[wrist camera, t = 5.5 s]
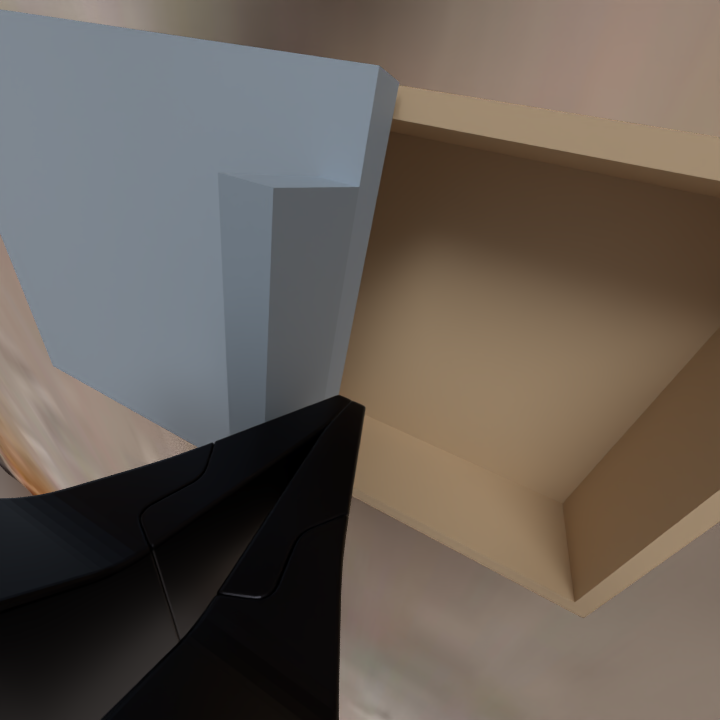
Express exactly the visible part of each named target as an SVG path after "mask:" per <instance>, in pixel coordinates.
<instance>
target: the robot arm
mask: <svg viewBox="0 0 720 720" xmlns="http://www.w3.org/2000/svg"><path fill="white" fill-rule="evenodd" d="M365 410H366V407H365V406H364V405H362V404H360V403H357V402H355V401H351V400H350V399H348V398H346V397H344V396H341V395H335V396H333V397H330V398H328V399H325V400H322V401H320V402H317V403H314V404H312V405H309V406H306V407H304V408H301V409H299V410H296V411H293V412H291V413H288V414H285V415H283V416H280V417H278V418H275V419H272V420H270V421H267V422H264V423H262V424H259V425H256V426H254V427H251V428H249V429H246V430H243V431H241V432H238V433H235V434H233V435H230V436H227V437H225V438H222V439H220V440H217V441H215V443H212V442H211V443H209V444H206V445H203V446H201V447H198V448H196V449H193V450H190V451H187V452H184V453H181V454H179V455H176V456H173V457H170V458H167V459H164V460H161V461H157V462H154V463H151V464H148V465H145V466H141V467H138V468H135V469H131V470H128V471H124V472H121V473H118V474H114V475H111V476H107V477H104V478H101V479H97V480H94V481H90V482H87V483H83V484H80V485H77V486H73V487H70V488H66V489H63V490H59V491H55V492H51V493H46V494H41V495H35V496H28V497H20V498H0V720H339V664H340V621H341V586H342V568H343V556H344V547H345V539H346V532H347V525H348V519H349V518H348V516H349V512H350V505H351V499H352V493H353V486H354V480H355V473H356V467H357V461H358V454H359V448H360V442H361V435H362V429H363V423H364V416H365Z"/></svg>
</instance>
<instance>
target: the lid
mask: <svg viewBox="0 0 720 720" xmlns="http://www.w3.org/2000/svg"><path fill="white" fill-rule="evenodd" d="M398 87H399V82H398V81H397V80H396V79H395V78H393V77H392V76H391V75H390V74H389V73H388V72H386V71H385V70H384V69H383V68H382V67H380V66H379V65H372V64H365V63H359V62H352V61H345V60H338V59H332V58H325V57H318V56H311V55H305V54H298V53H291V52H284V51H278V50H271V49H264V48H257V47H251V46H244V45H237V44H230V43H223V42H217V41H210V40H203V39H196V38H190V37H183V36H176V35H169V34H163V33H156V32H149V31H142V30H136V29H129V28H122V27H115V26H109V25H102V24H95V23H88V22H81V21H75V20H68V19H61V18H54V17H48V16H41V15H34V14H27V13H21V12H14V11H7V10H0V234H1V237H2V239H3V242H4V244H5V247H6V249H7V252H8V254H9V257H10V259H11V262H12V264H13V267H14V269H15V272H16V274H17V277H18V279H19V282H20V284H21V287H22V289H23V292H24V294H25V297H26V299H27V302H28V304H29V307H30V309H31V312H32V314H33V317H34V319H35V322H36V324H37V327H38V329H39V332H40V334H41V337H42V339H43V342H44V344H45V347H46V349H47V352H48V354H49V357H50V359H51V362H52V364H53V366H54V367H56V368H58V369H60V370H61V371H63V372H65V373H67V374H68V375H70V376H72V377H74V378H76V379H77V380H79V381H81V382H83V383H84V384H86V385H88V386H90V387H92V388H93V389H95V390H97V391H99V392H101V393H102V394H104V395H106V396H108V397H109V398H111V399H113V400H115V401H117V402H118V403H120V404H122V405H124V406H125V407H127V408H129V409H131V410H133V411H134V412H136V413H138V414H140V415H141V416H143V417H145V418H147V419H149V420H150V421H152V422H154V423H156V424H158V425H159V426H161V427H163V428H165V429H166V430H168V431H170V432H172V433H174V434H175V435H177V436H179V437H181V438H182V439H184V440H186V441H188V442H190V443H191V444H193V445H195V446H197V447H201V446H203V445H206V444H209V443H211V442H212V443H215V441H217V440H220V439H222V438H225V437H227V436H230V435H233V434H235V433H238V432H241V431H243V430H246V429H249V428H251V427H254V426H256V425H259V424H262V423H264V422H267V421H270V420H272V419H275V418H278V417H280V416H283V415H285V414H288V413H291V412H293V411H296V410H299V409H301V408H304V407H306V406H309V405H312V404H314V403H317V402H320V401H322V400H325V399H328V398H330V397H333V396H335V395H339V391H340V386H341V380H342V375H343V370H344V365H345V360H346V355H347V350H348V344H349V339H350V334H351V329H352V324H353V319H354V313H355V308H356V303H357V298H358V293H359V288H360V283H361V277H362V272H363V267H364V262H365V257H366V252H367V247H368V241H369V236H370V231H371V226H372V221H373V216H374V210H375V205H376V200H377V195H378V190H379V185H380V180H381V174H382V169H383V164H384V159H385V154H386V149H387V144H388V138H389V133H390V128H391V123H392V118H393V113H394V107H395V102H396V97H397V92H398Z"/></svg>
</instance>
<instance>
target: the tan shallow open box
mask: <svg viewBox="0 0 720 720" xmlns="http://www.w3.org/2000/svg"><path fill="white" fill-rule="evenodd" d="M339 395H341V396H344V397H346V398H348V399H350V400H351V401H355V402H357V403H360V404H362V405H364V406H365V407H366V410H365V416H364V423H363V429H362V435H361V442H360V448H359V454H358V461H357V467H356V473H355V480H354V486H353V493H352V496H353V497H355V498H356V499H358V500H360V501H362V502H364V503H366V504H368V505H370V506H372V507H373V508H375V509H377V510H379V511H381V512H383V513H385V514H387V515H389V516H391V517H392V518H394V519H396V520H398V521H400V522H402V523H404V524H406V525H408V526H409V527H411V528H413V529H415V530H417V531H419V532H421V533H423V534H425V535H426V536H428V537H430V538H432V539H434V540H436V541H438V542H440V543H442V544H443V545H445V546H447V547H449V548H451V549H453V550H455V551H457V552H459V553H461V554H462V555H464V556H466V557H468V558H470V559H472V560H474V561H476V562H478V563H479V564H481V565H483V566H485V567H487V568H489V569H491V570H493V571H495V572H496V573H498V574H500V575H502V576H504V577H506V578H508V579H510V580H512V581H513V582H515V583H517V584H519V585H521V586H523V587H525V588H527V589H529V590H531V591H532V592H534V593H536V594H538V595H540V596H542V597H544V598H546V599H548V600H549V601H551V602H553V603H555V604H557V605H559V606H561V607H563V608H565V609H566V610H568V611H570V612H572V613H574V614H576V615H578V616H580V617H582V618H585V617H586V616H588V615H589V614H590V613H592V612H593V611H595V610H596V609H597V608H599V607H600V606H602V605H603V604H604V603H606V602H607V601H609V600H610V599H611V598H613V597H614V596H616V595H617V594H618V593H620V592H621V591H623V590H624V589H625V588H627V587H628V586H630V585H631V584H633V583H634V582H635V581H637V580H638V579H640V578H641V577H642V576H644V575H645V574H647V573H648V572H649V571H651V570H652V569H654V568H655V567H656V566H658V565H659V564H661V563H662V562H663V561H665V560H666V559H668V558H669V557H670V556H672V555H673V554H675V553H676V552H677V551H679V550H680V549H682V548H683V547H685V546H686V545H687V544H689V543H690V542H692V541H693V540H694V539H696V538H697V537H699V536H700V535H701V534H703V533H704V532H706V531H707V530H708V529H710V528H711V527H713V526H714V525H715V524H717V523H718V522H720V137H715V136H709V135H703V134H697V133H691V132H685V131H678V130H672V129H666V128H660V127H654V126H648V125H641V124H635V123H629V122H623V121H617V120H611V119H604V118H598V117H592V116H586V115H580V114H574V113H567V112H561V111H555V110H549V109H543V108H536V107H530V106H524V105H518V104H512V103H506V102H499V101H493V100H487V99H481V98H475V97H469V96H462V95H456V94H450V93H444V92H438V91H432V90H425V89H419V88H413V87H407V86H401V85H399V87H398V92H397V97H396V102H395V107H394V113H393V118H392V123H391V128H390V133H389V138H388V144H387V149H386V154H385V159H384V164H383V169H382V174H381V180H380V185H379V190H378V195H377V200H376V205H375V210H374V216H373V221H372V226H371V231H370V236H369V241H368V247H367V252H366V257H365V262H364V267H363V272H362V277H361V283H360V288H359V293H358V298H357V303H356V308H355V313H354V319H353V324H352V329H351V334H350V339H349V344H348V350H347V355H346V360H345V365H344V370H343V375H342V380H341V386H340V391H339Z"/></svg>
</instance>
